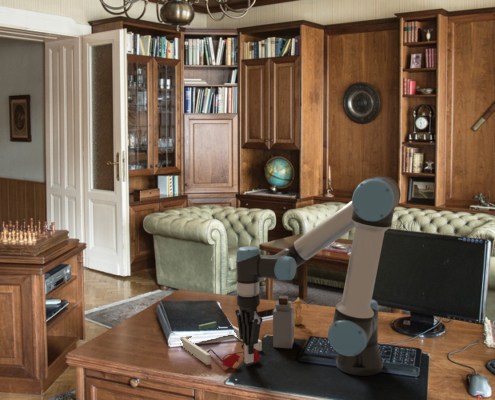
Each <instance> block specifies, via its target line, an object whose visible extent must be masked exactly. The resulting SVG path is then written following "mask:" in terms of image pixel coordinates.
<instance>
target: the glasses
mask: <svg viewBox="0 0 495 400" xmlns="http://www.w3.org/2000/svg"><path fill="white" fill-rule="evenodd" d="M240 346H241V347H243V348H244V343H242V345H240ZM206 352H207V353H209V352H211V353H212V354H214V356H216V357H217V358H218V360H219V361H220V362H222V366H225V367H227V368H229V369H230V368H232V367H233V366H234V365H235V364H236V363H238V362H239V360H240V358H241V356H240V355H238V354H241V353H243V351H239V352H234V353H229V354H226V355H224V356H223V358H222V359H221V357H220V356H219V355H218V354H217V353H216V352H215V351H214V350H213V349H211V348H210V349H208V350H207V351H206ZM259 352H260V351H258V350H256V349H254V362H253V363H258V361H259V359H260V358H261V354H260V353H259ZM242 359H243V360H244V357H242Z"/></svg>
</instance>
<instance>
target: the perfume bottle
mask: <svg viewBox="0 0 495 400" xmlns="http://www.w3.org/2000/svg"><path fill="white" fill-rule="evenodd" d="M291 303H292V300H289V295H279V296H278V300H276V302H275V303H274V305H275V306H274V309H273V310H272V344H273V345H272V347H273V348H277V349H278V348H279V349H293V345H294V344H295V343H294V342H295V323H294V316H295V306H292V304H291Z"/></svg>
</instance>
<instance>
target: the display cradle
mask: <svg viewBox="0 0 495 400" xmlns="http://www.w3.org/2000/svg"><path fill="white" fill-rule="evenodd" d="M217 324H218V323H217V321H211V322H207V323H202V324H198V330H199V329H200V330H201V329H208V328H214V327H218V326H217ZM231 325H232V326H233V328H234V332H235V333H236V335H237V337H238V339H237V340H239V341H240V342H243V340H242V339H240V336H239V328H238V326H237V327H236V326H234V324H231ZM185 336H186V337H183V336H180V337H179V339H180V340H181V341H182V343H183V347H184V348H185V349H186V350H187V351H186V350H185V349H184V348H183V349H184V350H185V351H186V352H188V351H189V352H190V353H189V352H188V353H189V354H191V355H192V354H193V355H192V356H194V357H195V358H196V359H197V360H199V361H201V362H202V363H204V364H205V365H206V366H209V365H211V354H210V353H209V352H208V353H207V351H206V350H204V349H203V348H201V347H200V346H198V345H197V344H194V343H192V342H191V341H189V340H188V339H189V338H191V337H192V336H188V335H185ZM180 340H179V341H180ZM262 341H263V340H260V339H258V343H257V344H254V350H258V352H261V351H263V347H262V346H263V344H262V343H263V342H262Z"/></svg>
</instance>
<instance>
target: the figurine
mask: <svg viewBox="0 0 495 400" xmlns="http://www.w3.org/2000/svg"><path fill="white" fill-rule="evenodd" d="M293 304H296V305H295V306H294V325H297V326H298V325H301V324H303V320H304V319H303V317H302V315H301V313H302V308H303V306H302V305H301V304H305V305H306V307H307V309H309V305H308V303H307V302H305V301H303V300H301V298H300V297H299V296H298V297H297V298H296V300H294V301H293V302H291V305H293ZM297 310H299V311H297ZM298 313H299V314H298Z"/></svg>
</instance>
